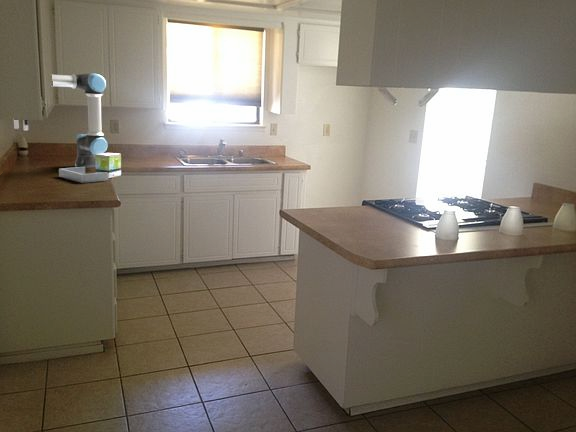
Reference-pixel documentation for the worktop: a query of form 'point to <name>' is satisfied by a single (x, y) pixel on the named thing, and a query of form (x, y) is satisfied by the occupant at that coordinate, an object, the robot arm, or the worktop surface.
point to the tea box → (109, 164)
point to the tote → (82, 175)
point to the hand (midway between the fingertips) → (21, 129)
